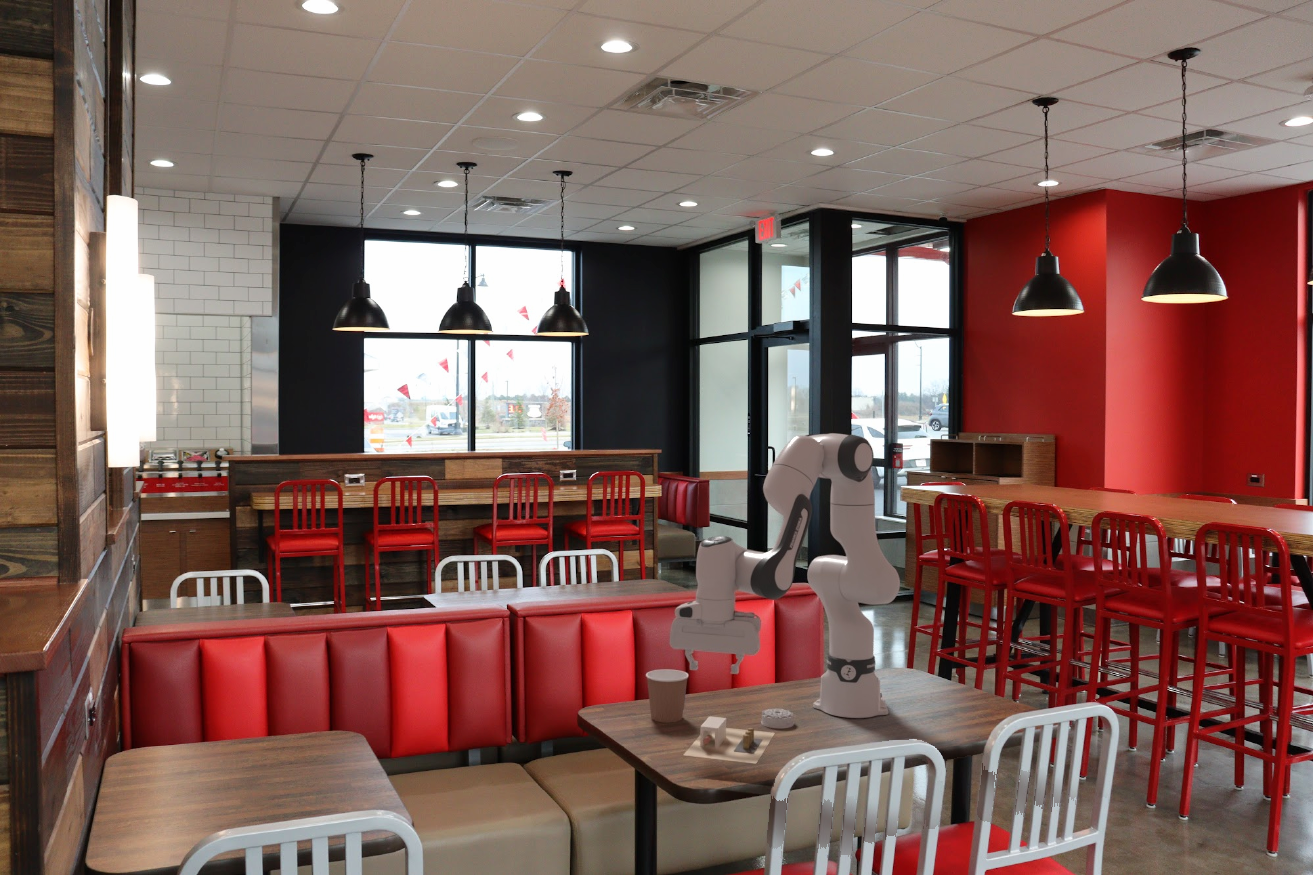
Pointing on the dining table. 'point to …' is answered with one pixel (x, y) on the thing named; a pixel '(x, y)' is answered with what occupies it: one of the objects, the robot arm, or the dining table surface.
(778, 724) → the mechanical component
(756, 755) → the board
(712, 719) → the box
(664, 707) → the coffee cup
